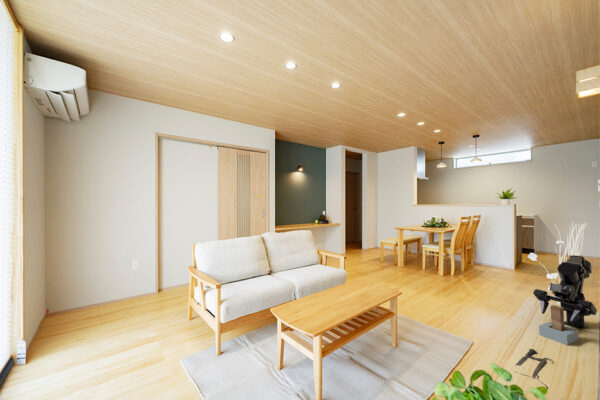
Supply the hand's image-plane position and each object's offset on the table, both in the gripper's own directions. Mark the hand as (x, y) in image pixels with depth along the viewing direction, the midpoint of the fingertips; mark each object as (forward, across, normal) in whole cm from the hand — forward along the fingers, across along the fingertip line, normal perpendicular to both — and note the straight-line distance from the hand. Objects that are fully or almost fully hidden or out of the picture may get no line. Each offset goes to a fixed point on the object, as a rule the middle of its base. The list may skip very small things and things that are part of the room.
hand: (556, 317), depth 107 cm
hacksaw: (+28, +7, -15) cm, 33 cm away
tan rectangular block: (+5, 0, +7) cm, 9 cm away
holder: (+5, 0, +7) cm, 9 cm away
